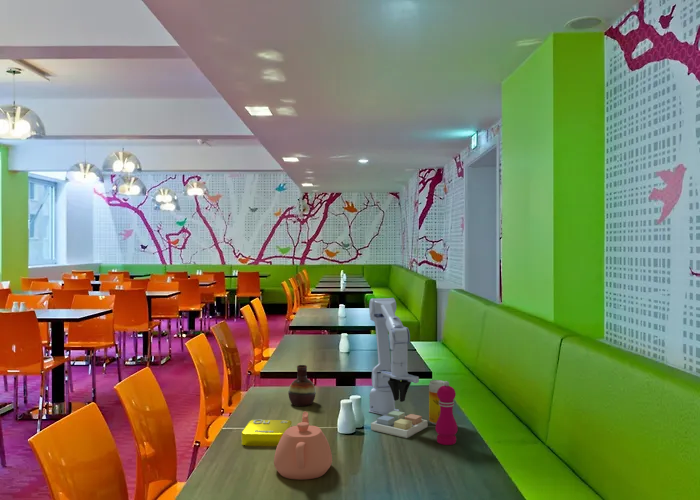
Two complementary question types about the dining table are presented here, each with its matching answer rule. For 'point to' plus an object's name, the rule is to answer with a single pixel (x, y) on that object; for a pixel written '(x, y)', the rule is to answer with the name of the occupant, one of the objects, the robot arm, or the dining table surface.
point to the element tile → (264, 432)
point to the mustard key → (403, 424)
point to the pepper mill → (446, 416)
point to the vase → (302, 388)
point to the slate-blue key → (386, 420)
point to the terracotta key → (414, 418)
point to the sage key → (397, 415)
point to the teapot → (303, 452)
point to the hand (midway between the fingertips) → (399, 400)
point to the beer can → (434, 400)
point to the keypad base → (397, 431)
